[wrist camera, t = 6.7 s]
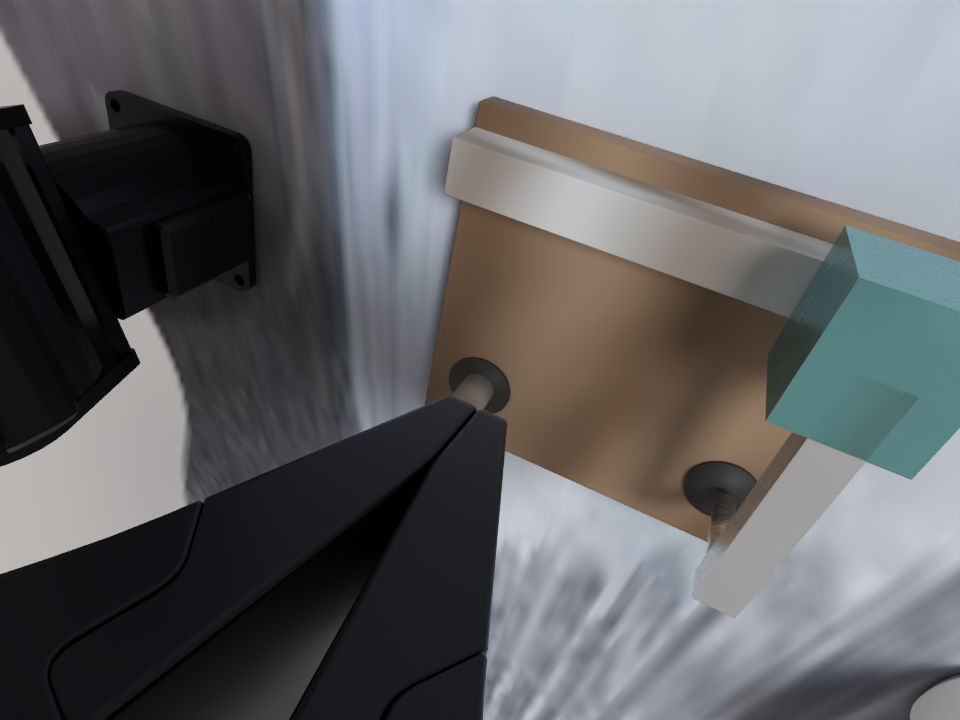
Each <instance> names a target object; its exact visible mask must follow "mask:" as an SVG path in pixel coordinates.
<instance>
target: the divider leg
mask: <svg viewBox="0 0 960 720" xmlns="http://www.w3.org/2000/svg"><path fill="white" fill-rule="evenodd" d="M765 421H766V422H768V423H771V424H773V425H776V426H778V427H781V428H783V429H786V430H788V431H791V432H792V433H791V434H790V436H789V437H788V439H787V440H786V441H785V443H784V444H783V446H782V447H781V449H780V450H779V451H778V453H777V454H776V456H775V457H774V459H773V460H772V461H771V463H770V464H769V466H768V467H767V469H766V470H765V471H764V473H763V474H762V476H761V477H760V479H759V480H758V481H757V483H756V484H755V486H754V487H753V489H752V490H751V491H750V493H749V494H748V496H747V497H746V499H745V500H744V501H743V503H742V504H741V506H740V507H739V509H738V510H737V511H736V500H735V498H734V497H733V496H731V495H729V494H727V493H719V494H717V495H715V496H714V498H713V505H712V513H711V521H710V528H709V536H708V544H707V551H706V556H705V557H704V559H703V560H702V562H701V563H700V564H699V566H698V567H697V569H696V571H695V578H694V585H693V592H692V598H693V599H696V600H698V601H700V602H702V603H704V604H706V605H708V606H710V607H712V608H714V609H717V610H719V611H721V612H723V613H725V614H727V615H729V616H731V617H733V618H736V616H737V615H738V614H739V613H740V612H741V611H742V609H743V608H744V607H745V606H746V605H747V603H748V602H749V601H750V600H751V599H752V597H753V596H754V595H755V594H756V593H757V591H758V590H759V589H760V588H761V587H762V585H763V584H764V583H765V582H766V581H767V579H768V578H769V577H770V576H771V575H772V573H773V572H774V571H775V570H776V569H777V567H778V566H779V565H780V564H781V563H782V561H783V560H784V559H785V558H786V557H787V556H788V554H789V553H790V552H791V551H792V550H793V548H794V547H795V546H796V545H797V544H798V542H799V541H800V540H801V539H802V538H803V536H804V535H805V534H806V533H807V532H808V530H809V529H810V528H811V527H812V526H813V524H814V523H815V522H816V521H817V520H818V518H819V517H820V516H821V515H822V514H823V512H824V511H825V510H826V509H827V508H828V507H829V505H830V504H831V503H832V502H833V501H834V499H835V498H836V497H837V496H838V495H839V493H840V492H841V491H842V490H843V489H844V487H845V486H846V485H847V484H848V483H849V481H850V480H851V479H852V478H853V477H854V475H855V474H856V473H857V472H858V471H859V469H860V468H861V467H862V466H863V465H864V463H865V462H868V463H871V464H873V465H876V466H878V467H881V468H883V469H886V470H888V471H891V472H893V473H896V474H898V475H901V476H903V477H906V478H908V479H911V480H912V479H913V478H914V477H915V475H916V474H917V473H918V472H919V471H920V470H921V469H922V468H923V467H924V466H925V465H926V464H927V463H928V461H929V460H930V459H931V458H932V457H933V456H934V455H935V454H936V453H937V452H938V451H939V450H940V449H941V447H942V446H943V445H944V444H945V443H946V442H947V441H948V440H949V439H950V438H951V437H952V436H953V434H954V433H955V432H956V431H957V430H958V429H959V428H960V262H959V261H956V260H953V259H950V258H947V257H943V256H940V255H937V254H934V253H931V252H928V251H925V250H922V249H918V248H915V247H912V246H909V245H906V244H903V243H900V242H896V241H893V240H890V239H887V238H884V237H881V236H878V235H875V234H871V233H868V232H865V231H862V230H859V229H856V228H853V227H850V226H846V225H845V226H844V228H843V229H842V231H841V233H840V234H839V236H838V238H837V239H836V241H835V243H834V244H833V246H832V248H831V249H830V251H829V253H828V254H827V256H826V258H825V259H824V261H823V263H822V264H821V266H820V268H819V269H818V271H817V273H816V274H815V276H814V278H813V279H812V281H811V283H810V284H809V286H808V288H807V289H806V291H805V293H804V294H803V296H802V298H801V299H800V301H799V303H798V304H797V306H796V308H795V309H794V311H793V313H792V314H791V316H790V318H789V319H788V321H787V323H786V324H785V326H784V328H783V329H782V331H781V333H780V334H779V336H778V338H777V339H776V341H775V343H774V344H773V346H772V348H771V349H770V351H769V353H768V356H767V386H766V415H765ZM735 511H736V513H735Z"/></svg>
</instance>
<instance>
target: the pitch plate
mask: <svg viewBox="0 0 960 720" xmlns="http://www.w3.org/2000/svg"><path fill="white" fill-rule="evenodd" d="M444 194H446V195H449V196H451V197H454V198H457V199H460V200H462V203H461V208H460V214H459V219H458V225H457V230H456V236H455V241H454V247H453V252H452V258H451V263H450V269H449V275H448V280H447V286H446V291H445V297H444V302H443V308H442V313H441V319H440V324H439V330H438V335H437V341H436V346H435V352H434V357H433V363H432V368H431V374H430V379H429V385H428V390H427V396H426V401H425V405H427V404H430V403H432V402H434V401H437V400H439V399H442V398H444V397H447V396H454V397H456V398H459V399H461V400H463V401H465V402H468V403H470V404H472V405H474V406H475V407H476V409H477V411H478V410H482V409H483V410H486V411H488V412H490V413H492V414H495V415H497V416H499V417H501V418H504V419H505V420H506V422H507V433H506V444H505V451H507V452H510V453H512V454H514V455H516V456H518V457H521V458H523V459H525V460H527V461H529V462H532V463H534V464H536V465H538V466H541V467H543V468H545V469H547V470H549V471H552V472H554V473H556V474H558V475H560V476H563V477H565V478H567V479H569V480H571V481H574V482H576V483H578V484H580V485H583V486H585V487H587V488H589V489H591V490H594V491H596V492H598V493H600V494H602V495H605V496H607V497H609V498H611V499H614V500H616V501H618V502H620V503H622V504H625V505H627V506H629V507H631V508H633V509H636V510H638V511H640V512H642V513H644V514H647V515H649V516H651V517H653V518H656V519H658V520H660V521H662V522H664V523H667V524H669V525H671V526H673V527H675V528H678V529H680V530H682V531H684V532H687V533H689V534H691V535H693V536H695V537H698V538H700V539H702V540H704V541H706V542H708V536H709V528H710V521H711V513H712V505H713V498H714V496H715V495H717V494H719V493H727V494H729V495H731V496H733V497H734V498H735V500H736V511H737V510H738V509H739V507H740V506H741V504H742V503H743V501H744V500H745V499H746V497H747V496H748V494H749V493H750V491H751V490H752V489H753V487H754V486H755V484H756V483H757V481H758V480H759V479H760V477H761V476H762V474H763V473H764V471H765V470H766V469H767V467H768V466H769V464H770V463H771V461H772V460H773V459H774V457H775V456H776V454H777V453H778V451H779V450H780V449H781V447H782V446H783V444H784V443H785V441H786V440H787V439H788V437H789V436H790V434H791V433H792V432H791V431H788V430H786V429H783V428H781V427H778V426H776V425H773V424H771V423H768V422H766V421H765V415H766V386H767V356H768V353H769V351H770V349H771V348H772V346H773V344H774V343H775V341H776V339H777V338H778V336H779V334H780V333H781V331H782V329H783V328H784V326H785V324H786V323H787V321H788V319H789V318H790V316H791V314H792V313H793V311H794V309H795V308H796V306H797V304H798V303H799V301H800V299H801V298H802V296H803V294H804V293H805V291H806V289H807V288H808V286H809V284H810V283H811V281H812V279H813V278H814V276H815V274H816V273H817V271H818V269H819V268H820V266H821V264H822V263H823V261H824V259H825V258H826V256H827V254H828V253H829V251H830V249H831V248H832V246H833V244H834V243H835V241H836V239H837V238H838V236H839V234H840V233H841V231H842V229H843V228H844V226H845V225H846V226H850V227H853V228H856V229H859V230H862V231H865V232H868V233H871V234H875V235H878V236H881V237H884V238H887V239H890V240H893V241H896V242H900V243H903V244H906V245H909V246H912V247H915V248H918V249H922V250H925V251H928V252H931V253H934V254H937V255H940V256H943V257H947V258H950V259H953V260H956V261H959V262H960V242H957V241H953V240H950V239H947V238H944V237H941V236H937V235H934V234H931V233H928V232H925V231H922V230H918V229H915V228H912V227H909V226H906V225H902V224H899V223H896V222H893V221H890V220H886V219H883V218H880V217H877V216H874V215H870V214H867V213H864V212H861V211H858V210H854V209H851V208H848V207H845V206H842V205H838V204H835V203H832V202H829V201H826V200H823V199H819V198H816V197H813V196H810V195H807V194H803V193H800V192H797V191H794V190H791V189H787V188H784V187H781V186H778V185H775V184H771V183H768V182H765V181H762V180H759V179H755V178H752V177H749V176H746V175H743V174H739V173H736V172H733V171H730V170H727V169H724V168H720V167H717V166H714V165H711V164H708V163H704V162H701V161H698V160H695V159H692V158H688V157H685V156H682V155H679V154H676V153H672V152H669V151H666V150H663V149H660V148H656V147H653V146H650V145H647V144H644V143H640V142H637V141H634V140H631V139H628V138H625V137H621V136H618V135H615V134H612V133H609V132H605V131H602V130H599V129H596V128H593V127H589V126H586V125H583V124H580V123H577V122H573V121H570V120H567V119H564V118H561V117H557V116H554V115H551V114H548V113H545V112H541V111H538V110H535V109H532V108H529V107H526V106H522V105H519V104H516V103H513V102H510V101H506V100H503V99H500V98H497V97H494V96H493V97H490V98H488V99H485V100H483V101H480V104H479V109H478V115H477V120H476V126H475V127H474V128H472V129H470V130H468V131H465V132H463V133H461V134H459V135H457V136H455V137H453V141H452V147H451V153H450V159H449V165H448V172H447V178H446V184H445V190H444ZM736 511H735V513H736Z"/></svg>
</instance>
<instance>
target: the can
mask: <svg viewBox="0 0 960 720" xmlns="http://www.w3.org/2000/svg"><path fill="white" fill-rule="evenodd" d="M910 720H960V674H959V675H955V676H952V677H949V678H946V679H944V680H942V681H940V682H938V683H936V684H935V685H933V686H932V687H931V688H929V689H928V690H927V691H926V692H925V693H924V694H923V695H921V696H920V697H919V698H918V699H917V700H916V701H915V703H914V704H913V706H912V708H911V712H910Z"/></svg>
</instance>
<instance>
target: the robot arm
mask: <svg viewBox="0 0 960 720" xmlns="http://www.w3.org/2000/svg"><path fill="white" fill-rule="evenodd" d="M105 103H106V109H107V114H108V120H109V126H110V130H109V131H104V132H100V133H95V134H91V135H86V136H81V137H77V138H72V139H68V140H63V141H59V142H54V143H49V144H45V145H40V146H38V143H37V141H36V139H35V137H34V135H33V132H32V130H31V128H30V126H29V124H32V122H31V120H30V118H29V116H28V113H27V111H26V109H25V107H24V105H23V104H22V105H12V106H2V107H0V466H3V465H7V464H9V463H12V462H14V461H17V460H19V459H22V458H24V457H26V456H28V455H30V454H32V453H34V452H36V451H38V450H40V449H42V448H44V447H45V446H47V445H48V444H50V443H52V442H53V441H55V440H56V439H58V437H60V436H61V435H62V434H64V433H65V432H66V431H68V430H69V429H70V428H71V427H72V426H73V425H74V424H75V423H76V422H77V421H78V420H80V419H81V418H82V417H83V416H84V415H85V414H86V413H87V412H88V411H89V410H90V409H91V408H93V407H94V406H95V405H96V404H97V403H98V402H99V401H100V400H101V399H102V398H103V397H104V396H106V395H107V394H108V393H109V392H110V391H111V390H112V389H113V388H114V387H115V386H116V385H117V384H119V383H120V382H121V381H122V380H123V379H124V378H125V377H126V376H127V375H128V374H129V373H130V372H132V371H133V370H134V369H135V368H136V367H137V366H138V365H139V364H140V361H139V359H138V357H137V354H136V352H135V350H134V349H132V348H130V346H129V343H128V341H127V339H126V337H125V335H124V332H123V330H122V328H121V326H120V323H119V321H118V319H117V318H119V319H121V320H124V319H126V318H128V317H130V316H132V315H134V314H136V313H138V312H140V311H142V310H144V309H146V308H148V307H150V306H152V305H154V304H156V303H158V302H160V301H162V300H164V299H166V298H168V297H170V298H172V299H175V298H178V297H180V296H181V295H183V294H185V293H187V292H189V291H191V290H193V289H195V288H197V287H199V286H201V285H203V284H205V283H206V282H208V281H210V280H212V279H215V280H217V281H219V282H222V283H224V284H226V285H229V286H231V287H233V288H235V289H238V290H240V291H247V290H249V289H250V288H252V287H254V286H255V284H256V267H255V241H254V216H253V190H252V164H251V148H250V145H249V142H248V140H247V139H246V138H245V137H244V136H243V135H242V134H240V133H238V132H235V131H232V130H229V129H227V128H224V127H221V126H218V125H216V124H213V123H210V122H207V121H205V120H202V119H199V118H196V117H194V116H191V115H188V114H186V113H183V112H180V111H177V110H175V109H172V108H169V107H166V106H164V105H161V104H158V103H155V102H153V101H150V100H147V99H144V98H142V97H139V96H136V95H133V94H131V93H128V92H125V91H122V90H116V91H109V92H108V93H106V96H105ZM234 144H235V145H236V147H237V150H238V152H237V151H236V149H235V146H234ZM506 433H507V422H506V420H505V419H504V418H501V417H499V416H497V415H495V414H492V413H490V412H488V411H486V410H483V409H482V410H478V411H477V409H476V407H475V406H474V405H472V404H470V403H468V402H465V401H463V400H461V399H459V398H456V397H454V396H447V397H444V398H442V399H439V400H437V401H434V402H432V403H430V404H427V405H425V406H423V407H420V408H418V409H416V410H413V411H411V412H408V413H406V414H404V415H401V416H399V417H397V418H394V419H392V420H389V421H387V422H385V423H382V424H380V425H378V426H375V427H373V428H371V429H368V430H366V431H363V432H361V433H359V434H356V435H354V436H352V437H349V438H347V439H344V440H342V441H340V442H337V443H335V444H333V445H330V446H328V447H326V448H323V449H321V450H318V451H316V452H314V453H311V454H309V455H307V456H304V457H302V458H299V459H297V460H295V461H292V462H290V463H288V464H285V465H283V466H281V467H278V468H276V469H273V470H271V471H269V472H266V473H264V474H262V475H259V476H257V477H254V478H252V479H250V480H247V481H245V482H243V483H240V484H238V485H236V486H233V487H231V488H228V489H226V490H224V491H221V492H219V493H217V494H214V495H212V496H209V497H207V498H206V499H205V501H204V504H203V503H202V502H201V501H197V502H195V503H192V504H190V505H188V506H185V507H183V508H180V509H178V510H176V511H173V512H171V513H169V514H166V515H164V516H161V517H159V518H156V519H154V520H151V521H149V522H146V523H144V524H141V525H139V526H136V527H134V528H131V529H128V530H126V531H124V532H121V533H118V534H116V535H113V536H111V537H108V538H105V539H102V540H100V541H97V542H94V543H91V544H88V545H85V546H82V547H79V548H77V549H74V550H71V551H68V552H65V553H62V554H60V555H57V556H54V557H51V558H48V559H45V560H42V561H39V562H36V563H33V564H30V565H27V566H24V567H21V568H18V569H15V570H12V571H9V572H6V573H3V574H0V720H483V703H484V689H485V678H486V667H487V658H486V653H487V650H488V639H489V628H490V616H491V605H492V593H493V582H494V570H495V559H496V547H497V536H498V524H499V513H500V502H501V490H502V479H503V467H504V456H505V444H506Z"/></svg>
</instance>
